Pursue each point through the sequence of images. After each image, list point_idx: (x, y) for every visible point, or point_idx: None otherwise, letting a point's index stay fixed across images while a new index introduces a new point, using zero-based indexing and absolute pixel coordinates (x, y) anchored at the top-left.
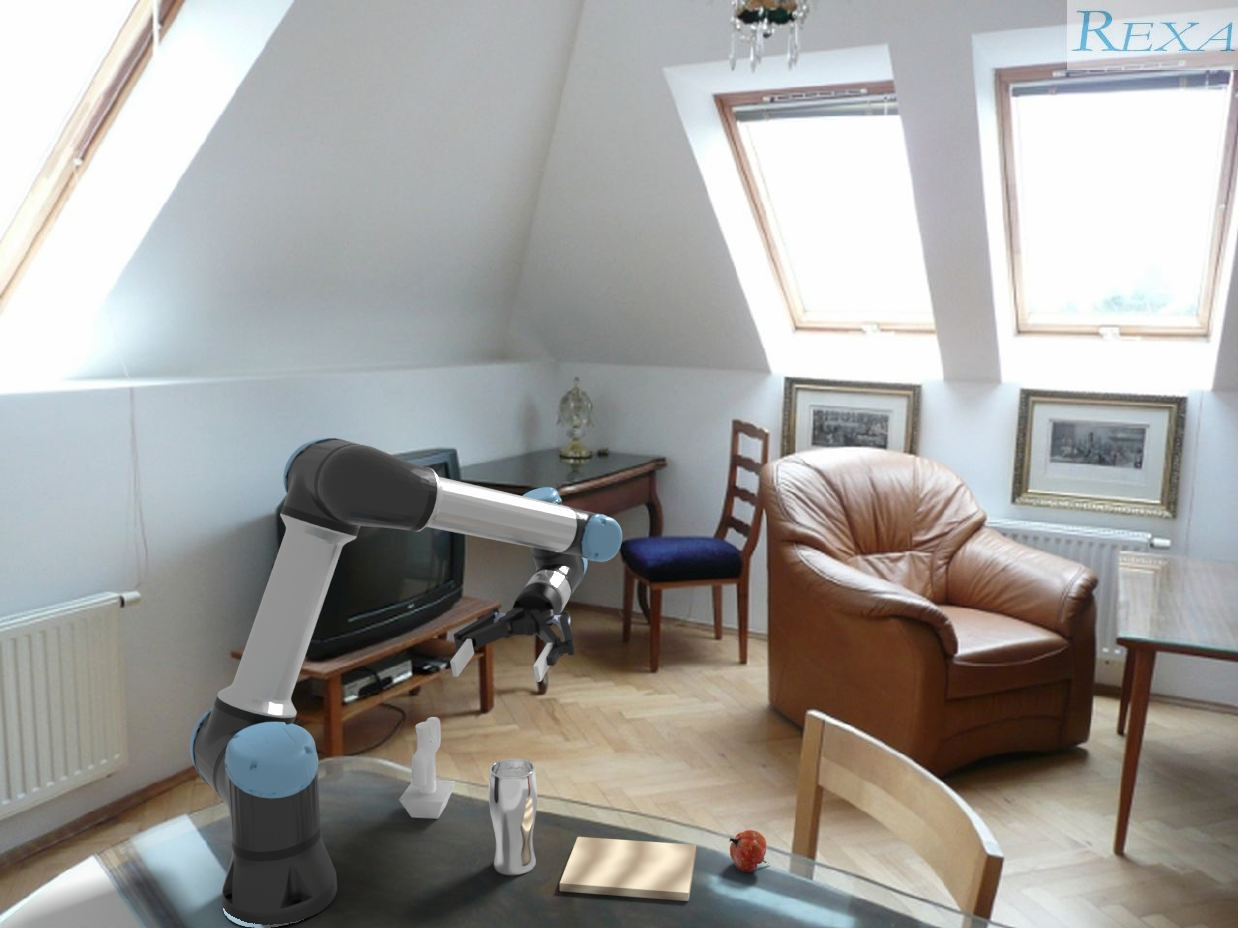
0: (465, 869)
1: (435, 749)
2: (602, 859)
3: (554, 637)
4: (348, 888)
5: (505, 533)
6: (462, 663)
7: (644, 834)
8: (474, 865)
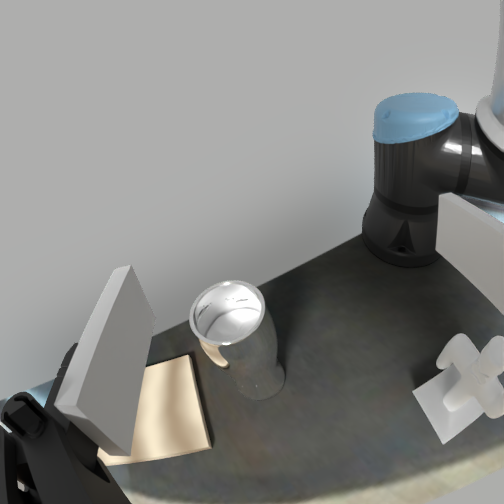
0: (305, 344)
1: (473, 389)
2: (162, 411)
3: (46, 468)
4: (376, 266)
5: None
6: (466, 255)
7: (147, 492)
8: (301, 354)
